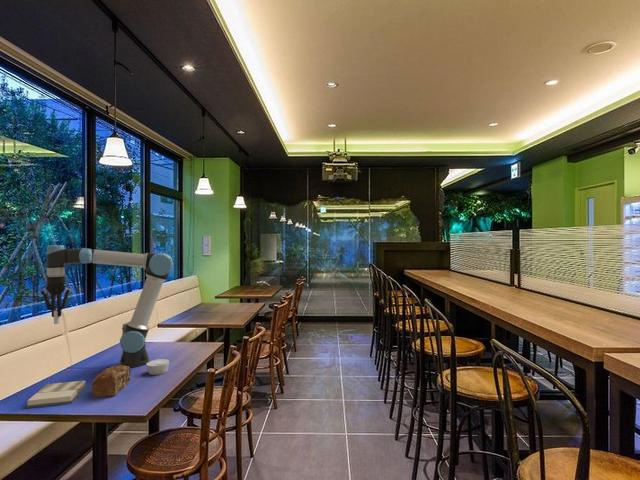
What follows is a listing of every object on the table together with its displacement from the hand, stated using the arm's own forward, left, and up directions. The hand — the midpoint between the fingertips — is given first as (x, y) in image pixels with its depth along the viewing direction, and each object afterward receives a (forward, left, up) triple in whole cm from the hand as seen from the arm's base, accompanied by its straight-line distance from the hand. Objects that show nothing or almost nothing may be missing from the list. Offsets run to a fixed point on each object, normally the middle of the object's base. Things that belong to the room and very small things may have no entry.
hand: (56, 323), depth 198 cm
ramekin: (-47, +2, -29) cm, 55 cm away
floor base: (-8, +24, -28) cm, 38 cm away
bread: (-30, +22, -29) cm, 47 cm away
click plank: (-8, +20, -27) cm, 35 cm away
